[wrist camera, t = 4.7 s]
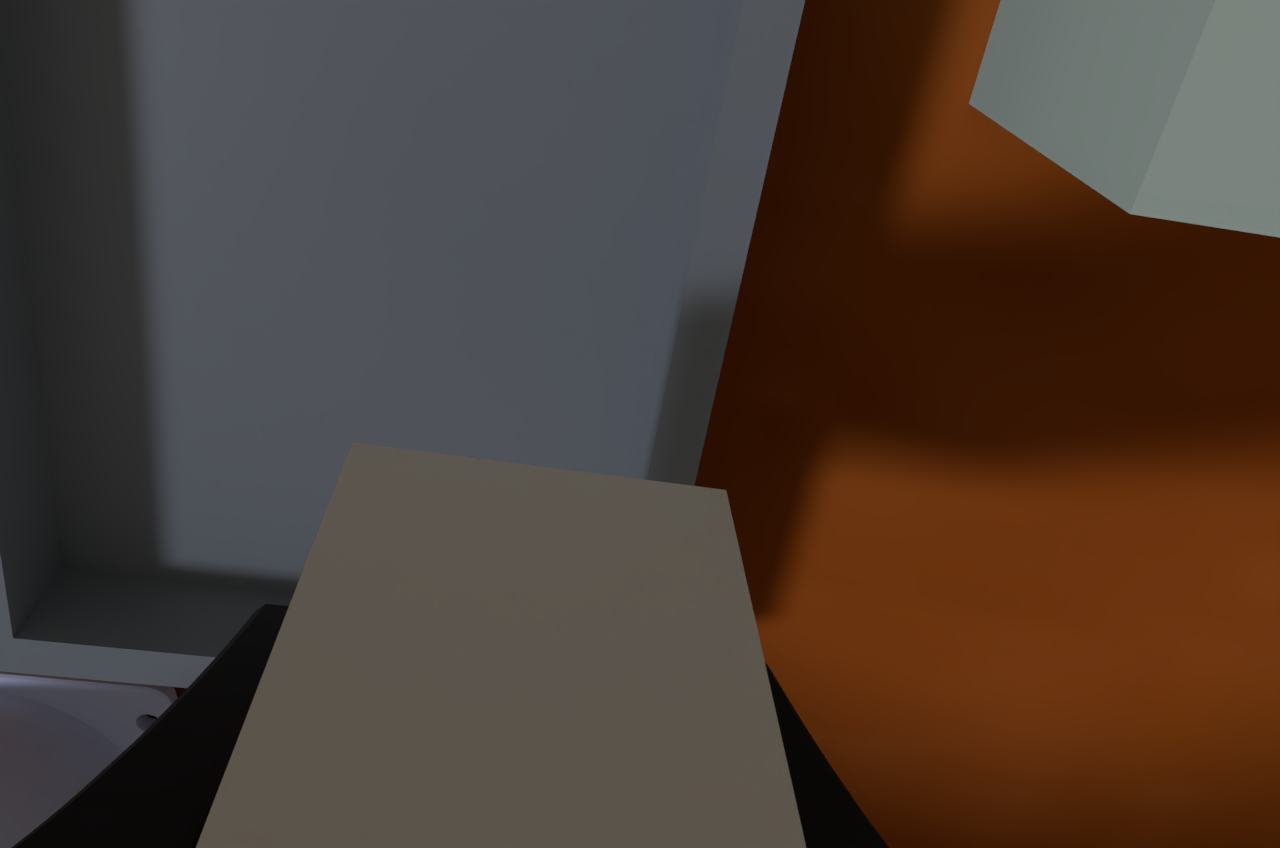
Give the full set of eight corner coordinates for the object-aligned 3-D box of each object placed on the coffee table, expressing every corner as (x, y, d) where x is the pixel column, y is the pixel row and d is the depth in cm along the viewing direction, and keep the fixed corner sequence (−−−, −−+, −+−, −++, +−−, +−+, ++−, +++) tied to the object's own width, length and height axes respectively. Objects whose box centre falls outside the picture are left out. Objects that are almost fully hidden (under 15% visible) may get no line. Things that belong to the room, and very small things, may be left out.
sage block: (1215, 144, 18) (1471, 267, 13) (968, 103, 18) (1129, 213, 12) (1341, -150, 16) (1709, -145, 11) (1063, -206, 15) (1308, -231, 10)
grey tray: (633, 626, 23) (638, 729, 20) (46, 565, 21) (-30, 668, 19) (832, -322, 15) (886, -358, 12) (-91, -523, 13) (-259, -612, 11)
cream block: (658, 754, 15) (699, 1245, 10) (335, 723, 14) (194, 1227, 9) (726, 490, 13) (826, 935, 8) (352, 441, 12) (181, 888, 7)
